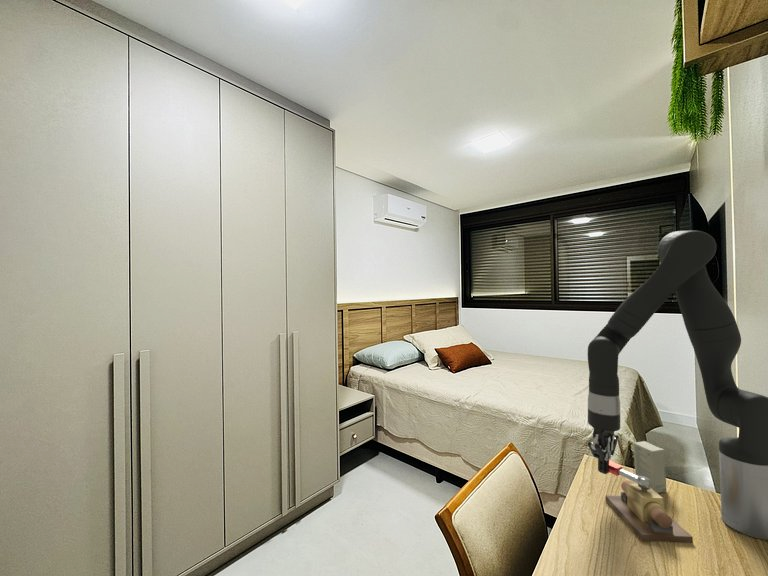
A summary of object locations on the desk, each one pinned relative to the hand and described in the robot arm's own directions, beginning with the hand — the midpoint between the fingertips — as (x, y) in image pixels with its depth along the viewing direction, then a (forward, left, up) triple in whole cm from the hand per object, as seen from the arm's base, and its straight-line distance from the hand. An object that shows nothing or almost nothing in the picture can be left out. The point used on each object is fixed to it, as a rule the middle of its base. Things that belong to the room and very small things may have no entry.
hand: (603, 472), depth 92 cm
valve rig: (-7, +6, -9) cm, 12 cm away
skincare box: (-18, -9, -9) cm, 22 cm away
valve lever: (-5, +2, 0) cm, 5 cm away
